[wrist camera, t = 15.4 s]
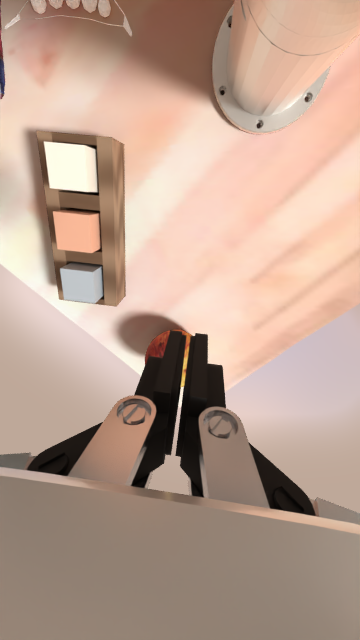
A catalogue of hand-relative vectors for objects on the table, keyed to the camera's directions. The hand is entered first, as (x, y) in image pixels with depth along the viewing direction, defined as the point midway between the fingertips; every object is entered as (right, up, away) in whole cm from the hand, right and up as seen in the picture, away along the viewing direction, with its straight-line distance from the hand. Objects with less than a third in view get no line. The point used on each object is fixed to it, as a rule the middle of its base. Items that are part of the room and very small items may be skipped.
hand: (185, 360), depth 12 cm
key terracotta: (-13, +15, +25) cm, 31 cm away
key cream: (-12, +21, +21) cm, 32 cm away
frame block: (-13, +16, +26) cm, 33 cm away
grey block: (-14, +9, +28) cm, 32 cm away
